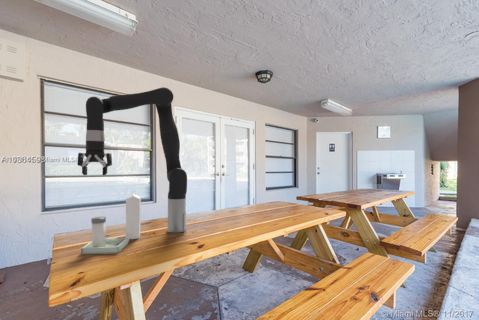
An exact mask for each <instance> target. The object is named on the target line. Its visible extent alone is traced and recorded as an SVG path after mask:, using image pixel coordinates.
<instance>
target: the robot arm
mask: <svg viewBox="0 0 479 320" xmlns="http://www.w3.org/2000/svg"><path fill="white" fill-rule="evenodd" d="M173 100H174V93H173V91H172V90H171V89H170V88H168V87H166V86H165V87H163V86H162V87H160V88H159V87H158V88H156V89H151V90H147V91H143V92H136V93H127V94H119V95H112V96H109V97H108V98H102V99H101V98H100V97H98V96H89V97H88V98H87V100H86V101H85V114H86V133H85V152H78V155H77V166H80V167H81V173H82V175H83V176H88V167H87V166H89V164H91V163H100V164H101V166H102V176H107V174H108V167H110V166H113V161H112V160H113V158H112V152H107V153H105V140H106V139H105V123H104V114H107V113H111V112H115V111H116V112H117V111H123V110H125V111H126V110H130V109H134V108H138V107H142V106H147V105H155V108H156V112H157V114H158V123H159V124H158V126H159V134H160V141H161V146H162V150H163V154H164V158H165V159H164V160H165V164H166V179H167V181H168V182H169V183H168V193H167V232H168V233H173V234H174V233H175V234H177V233H178V234H179V233H183V232H186V229H187V211H186V199H187V197H186V196H187V191H188V174H187V172H186V171H185V170H184V169H183V168H182V165H181V160H180V148H181V147H180V146H181V144H180V142H181V141H180V136H179V135H180V134H179V130H178V128H177V125H176V122H175V120H174V117H173V109H172V106H173V105H172V102H173ZM104 158H106V160H105V159H104ZM84 159H85V160H84Z"/></svg>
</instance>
